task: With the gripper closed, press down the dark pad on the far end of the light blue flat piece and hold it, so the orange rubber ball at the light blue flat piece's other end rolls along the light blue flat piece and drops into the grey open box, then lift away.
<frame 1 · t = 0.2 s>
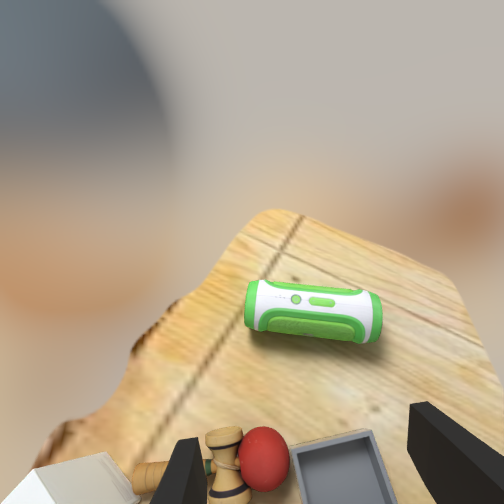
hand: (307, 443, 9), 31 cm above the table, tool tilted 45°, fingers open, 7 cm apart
grey open box: (339, 485, 33), on the table
speaker: (306, 318, 43), on the table
supplement box: (100, 502, 33), on the table
kendama: (215, 464, 35), on the table
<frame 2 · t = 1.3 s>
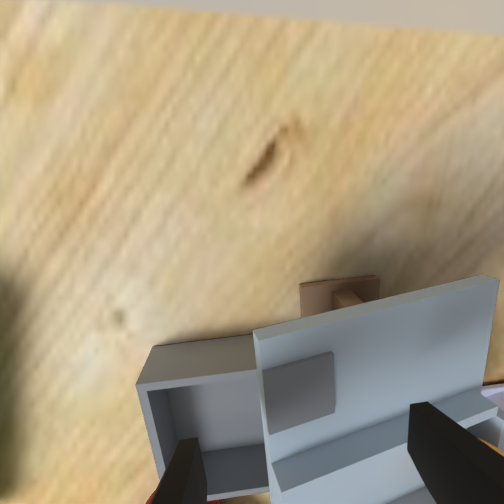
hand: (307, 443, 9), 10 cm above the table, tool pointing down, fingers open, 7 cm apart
grey open box: (231, 395, 20), on the table
stand: (337, 345, 20), on the table
light blue flat piece: (393, 429, 13), point 7 cm above the table, hinge at -12.0°, touching ball
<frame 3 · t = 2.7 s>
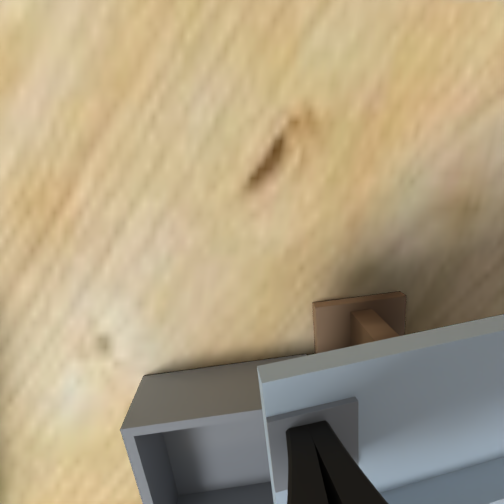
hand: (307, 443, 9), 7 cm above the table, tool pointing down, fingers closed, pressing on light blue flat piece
grey open box: (235, 428, 18), on the table
stand: (356, 371, 17), on the table
light blue flat piece: (433, 492, 11), point 7 cm above the table, hinge at -6.0°, touching ball, gripper
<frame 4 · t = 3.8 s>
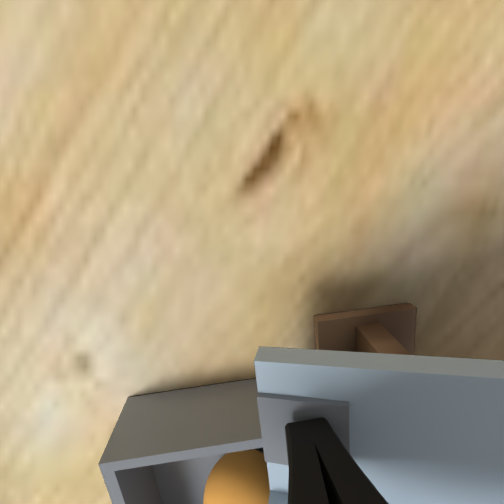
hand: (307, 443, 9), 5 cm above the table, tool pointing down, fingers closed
grey open box: (230, 451, 16), on the table
stand: (361, 388, 16), on the table
ball: (244, 496, 14), point 2 cm above the table, tilted 64°, touching grey open box, light blue flat piece
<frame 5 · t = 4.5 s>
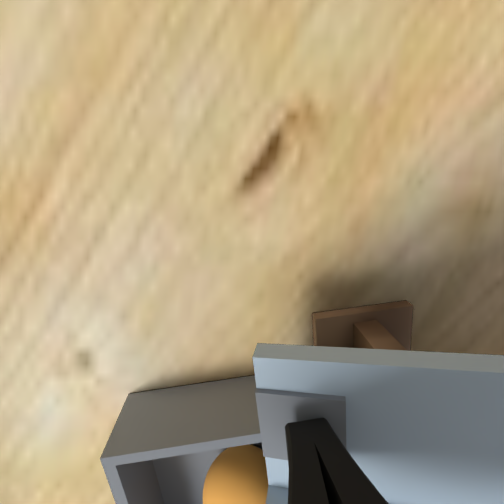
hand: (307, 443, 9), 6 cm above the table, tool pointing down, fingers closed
grey open box: (229, 447, 17), on the table
stand: (359, 385, 16), on the table
ball: (243, 492, 14), point 2 cm above the table, tilted 63°, touching grey open box
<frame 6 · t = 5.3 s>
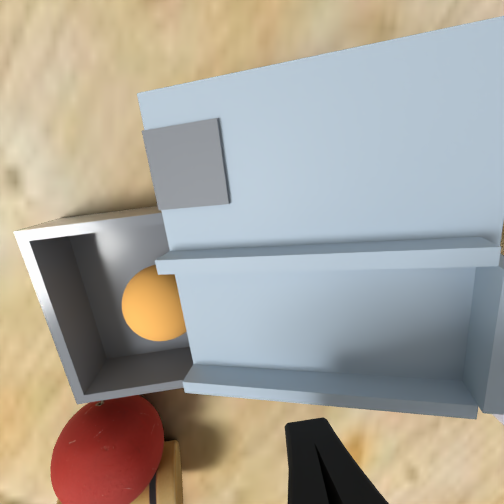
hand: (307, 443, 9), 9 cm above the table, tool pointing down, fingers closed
grey open box: (162, 284, 17), on the table
ball: (163, 301, 15), point 2 cm above the table, tilted 61°, touching grey open box
light blue flat piece: (312, 252, 10), point 7 cm above the table, hinge at 18.0°
kendama: (143, 468, 22), on the table
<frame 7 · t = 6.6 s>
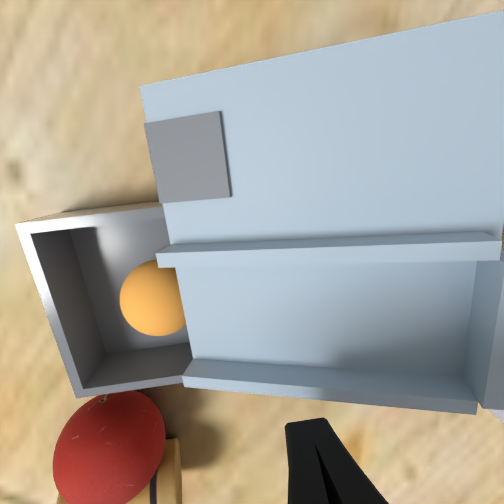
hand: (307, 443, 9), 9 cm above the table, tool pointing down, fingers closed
grey open box: (162, 280, 17), on the table
ball: (161, 296, 15), point 2 cm above the table, tilted 58°, touching grey open box
light blue flat piece: (313, 246, 10), point 7 cm above the table, hinge at 18.0°
kendama: (143, 466, 22), on the table
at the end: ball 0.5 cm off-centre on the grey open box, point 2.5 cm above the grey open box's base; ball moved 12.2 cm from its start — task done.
